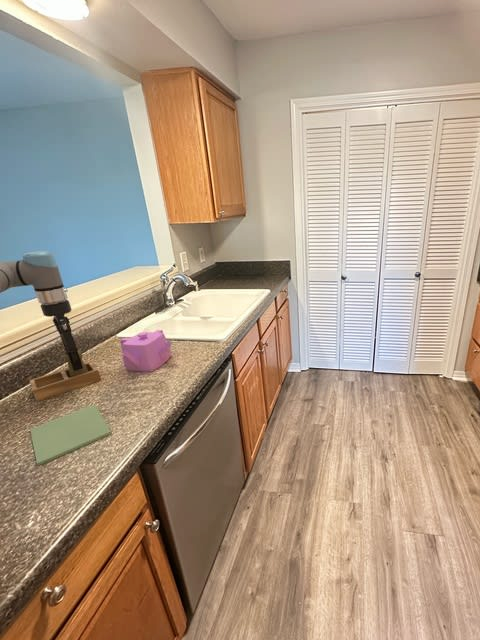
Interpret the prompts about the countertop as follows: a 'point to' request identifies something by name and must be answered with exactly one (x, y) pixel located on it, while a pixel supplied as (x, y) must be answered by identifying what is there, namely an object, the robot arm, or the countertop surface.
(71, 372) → the cork
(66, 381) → the box
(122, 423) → the countertop surface
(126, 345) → the purple knobbed polyhedron
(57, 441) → the drying mat
